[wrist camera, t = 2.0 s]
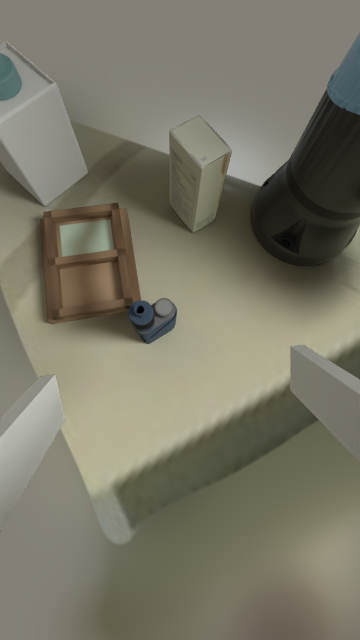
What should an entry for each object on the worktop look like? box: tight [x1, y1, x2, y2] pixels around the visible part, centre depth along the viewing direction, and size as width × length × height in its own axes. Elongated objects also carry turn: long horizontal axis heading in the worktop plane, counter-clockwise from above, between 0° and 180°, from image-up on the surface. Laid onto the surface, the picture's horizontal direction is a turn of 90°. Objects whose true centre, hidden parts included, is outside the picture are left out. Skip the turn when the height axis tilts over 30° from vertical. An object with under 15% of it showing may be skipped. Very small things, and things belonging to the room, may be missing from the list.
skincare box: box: [169, 115, 232, 233], centre depth 35 cm, size 6×4×12 cm
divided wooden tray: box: [41, 203, 141, 324], centre depth 37 cm, size 12×15×3 cm
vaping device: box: [128, 298, 177, 344], centre depth 31 cm, size 3×5×12 cm, turn 123°
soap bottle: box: [0, 41, 88, 206], centre depth 33 cm, size 9×9×19 cm
